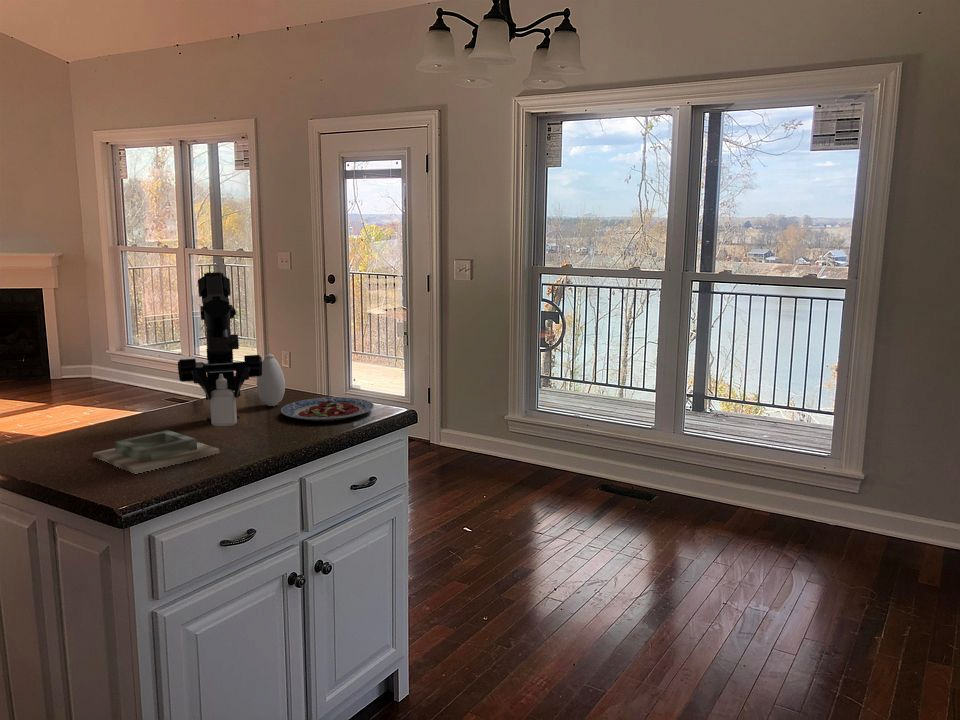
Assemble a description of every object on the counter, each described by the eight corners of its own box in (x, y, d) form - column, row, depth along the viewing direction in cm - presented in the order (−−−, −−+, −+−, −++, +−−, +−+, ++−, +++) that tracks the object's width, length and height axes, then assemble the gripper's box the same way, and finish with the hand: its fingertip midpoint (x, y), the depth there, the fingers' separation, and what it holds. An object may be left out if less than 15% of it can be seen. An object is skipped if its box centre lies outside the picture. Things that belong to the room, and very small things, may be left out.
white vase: (291, 404, 228) (288, 345, 225) (271, 410, 222) (267, 348, 219) (272, 401, 233) (269, 343, 230) (252, 407, 226) (249, 346, 223)
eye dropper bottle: (225, 428, 176) (221, 376, 174) (208, 424, 179) (205, 374, 177) (240, 423, 180) (236, 373, 178) (223, 420, 183) (220, 371, 181)
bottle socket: (93, 457, 177) (92, 442, 176) (175, 439, 192) (174, 425, 191) (135, 475, 164) (133, 458, 163) (219, 453, 179) (218, 438, 178)
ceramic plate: (320, 401, 234) (319, 391, 233) (391, 409, 223) (391, 399, 222) (261, 420, 211) (260, 409, 211) (337, 430, 200) (337, 419, 199)
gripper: (174, 325, 176) (176, 381, 168) (259, 321, 182) (264, 375, 174) (178, 353, 185) (180, 408, 176) (259, 348, 191) (264, 401, 182)
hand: (222, 397), depth 177 cm, fingers closed on eye dropper bottle, 5 cm apart
